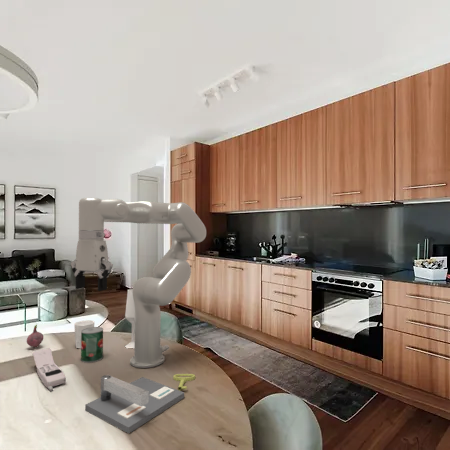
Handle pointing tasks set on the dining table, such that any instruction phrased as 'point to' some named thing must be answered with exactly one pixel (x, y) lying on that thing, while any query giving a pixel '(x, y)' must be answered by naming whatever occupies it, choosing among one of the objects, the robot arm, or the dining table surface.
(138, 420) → the label panel
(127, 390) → the swing arm
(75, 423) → the dining table surface
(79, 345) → the white cup
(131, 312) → the champagne flute
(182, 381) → the key
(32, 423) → the dining table surface
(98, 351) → the canned tomato
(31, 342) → the vegetable
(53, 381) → the mobile phone
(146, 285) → the robot arm
